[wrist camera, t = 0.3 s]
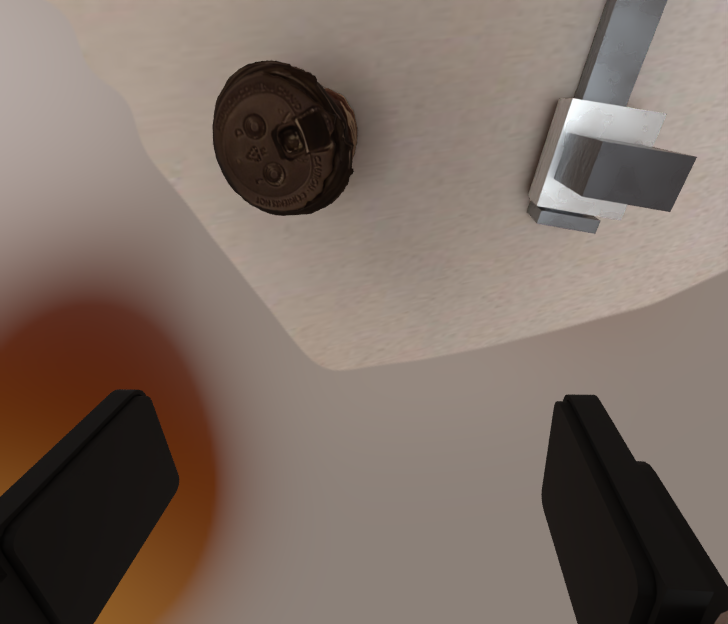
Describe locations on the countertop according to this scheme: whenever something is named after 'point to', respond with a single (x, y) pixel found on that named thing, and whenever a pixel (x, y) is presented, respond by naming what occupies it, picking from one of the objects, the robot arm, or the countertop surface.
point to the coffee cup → (283, 138)
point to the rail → (609, 79)
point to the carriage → (606, 161)
